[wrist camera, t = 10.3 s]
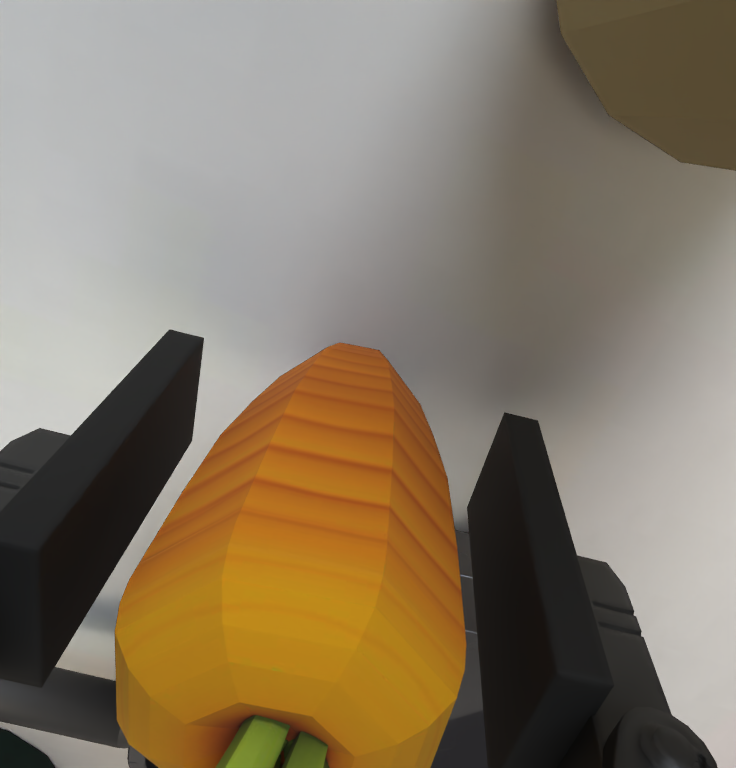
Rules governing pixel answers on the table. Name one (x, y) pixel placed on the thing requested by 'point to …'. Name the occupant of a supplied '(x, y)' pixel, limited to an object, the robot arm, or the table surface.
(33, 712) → the pan handle
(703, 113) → the squeeze bottle
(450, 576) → the carrot
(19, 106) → the table surface
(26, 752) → the wine bottle
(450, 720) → the pan
